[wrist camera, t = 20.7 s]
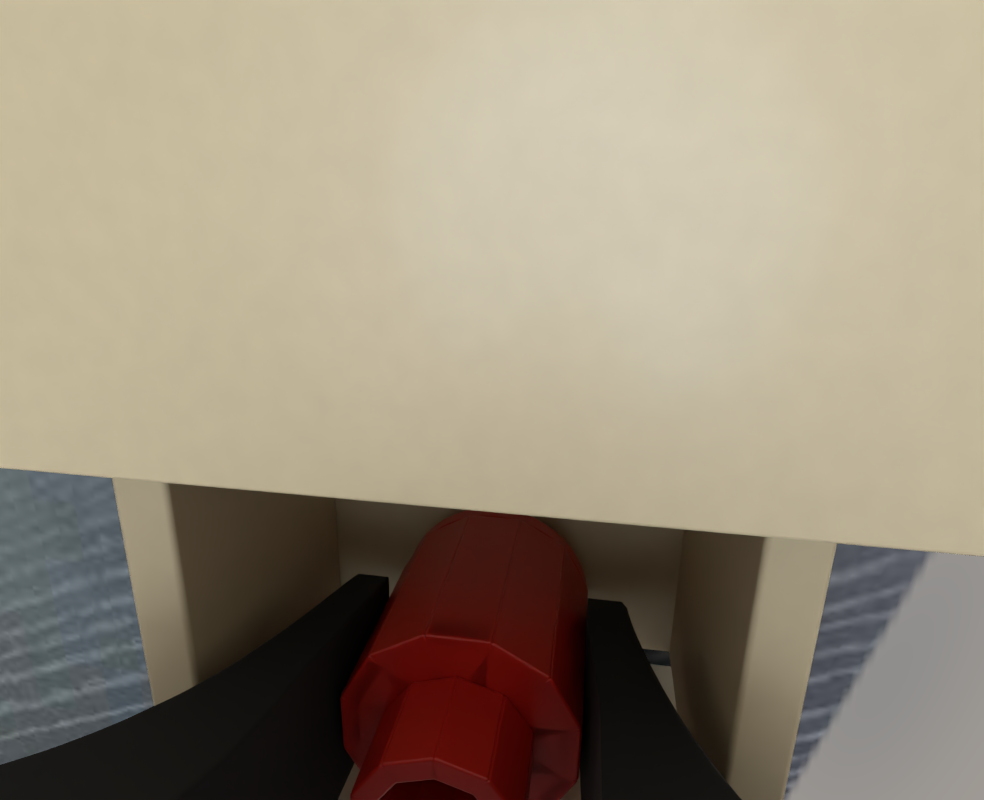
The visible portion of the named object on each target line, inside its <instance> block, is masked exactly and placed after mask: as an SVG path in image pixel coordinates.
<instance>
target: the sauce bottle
mask: <svg viewBox="0 0 984 800" xmlns="http://www.w3.org/2000/svg"><path fill="white" fill-rule="evenodd" d="M587 601H588V589H587V585H586V579H585V575H584V572H583V569H582V566H581V564H580V562H579V560H578V558H577V556H576V554H575V553H574V551H573V550H572V548H571V547H570V546H569V545H568V543H567V542H566V541H565V540H564V539H563V538H562V537H561V536H560V535H559V534H558V533H557V532H555V531H554V530H553V529H552V528H550V527H549V526H547V525H546V524H545V523H543V522H541V521H539V520H537V519H535V518H533V517H531V516H528V515H517V514H506V513H495V512H484V511H473V510H467V511H463V512H460V513H457V514H454V515H452V516H450V517H448V518H446V519H444V520H442V521H441V522H439V523H438V524H436V525H435V526H434V527H433V528H432V529H430V530H429V531H428V532H427V533H426V534H425V536H424V537H423V538H422V540H421V541H420V542H419V544H418V546H417V548H416V550H415V552H414V554H413V555H412V557H411V558H410V560H409V561H408V563H407V564H406V566H405V567H404V569H403V571H402V573H401V575H400V577H399V579H398V581H397V583H396V585H395V587H394V589H393V591H392V593H391V595H390V597H389V599H388V601H387V603H386V605H385V607H384V609H383V611H382V613H381V616H380V618H379V620H378V622H377V624H376V626H375V628H374V630H373V632H372V634H371V636H370V638H369V640H368V642H367V644H366V646H365V648H364V650H363V652H362V654H361V656H360V658H359V660H358V662H357V664H356V666H355V668H354V670H353V672H352V674H351V676H350V678H349V680H348V682H347V684H346V686H345V688H344V690H343V692H342V694H341V698H340V701H341V715H342V729H343V743H344V747H345V750H346V751H347V753H348V754H349V755H350V757H351V758H352V760H353V761H354V763H355V764H356V765H357V767H358V768H359V770H360V772H359V774H358V777H357V779H356V782H355V784H354V786H353V789H352V792H351V794H350V799H351V800H560V799H561V798H562V797H563V796H564V795H565V794H566V793H567V792H568V791H569V790H570V789H571V788H572V787H573V786H574V785H575V783H576V782H577V780H578V778H579V767H580V754H581V741H582V726H583V701H584V676H585V636H586V616H587Z"/></svg>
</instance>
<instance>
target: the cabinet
mask: <svg viewBox="0 0 984 800" xmlns="http://www.w3.org/2000/svg"><path fill="white" fill-rule="evenodd" d="M0 468H7V469H18V470H29V471H40V472H52V473H63V474H74V475H85V476H96V477H107V478H118V479H129V480H140V481H151V482H162V483H174V484H185V485H196V486H207V487H218V488H229V489H240V490H251V491H262V492H273V493H284V494H296V495H307V496H318V497H329V498H340V499H351V500H362V501H373V502H384V503H395V504H406V505H418V506H429V507H440V508H451V509H462V510H473V511H484V512H495V513H506V514H517V515H528V516H539V517H551V518H562V519H573V520H584V521H595V522H606V523H617V524H628V525H639V526H650V527H661V528H673V529H684V530H695V531H706V532H717V533H728V534H739V535H750V536H761V537H772V538H783V539H795V540H806V541H817V542H828V543H839V544H850V545H861V546H872V547H883V548H894V549H905V550H917V551H928V552H939V553H950V554H961V555H972V556H983V557H984V0H0Z"/></svg>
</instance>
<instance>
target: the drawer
mask: <svg viewBox="0 0 984 800" xmlns="http://www.w3.org/2000/svg"><path fill="white" fill-rule="evenodd" d="M112 481H113V486H114V492H115V497H116V502H117V508H118V513H119V519H120V524H121V530H122V535H123V540H124V546H125V551H126V557H127V562H128V567H129V573H130V578H131V584H132V589H133V594H134V600H135V605H136V611H137V616H138V622H139V627H140V632H141V638H142V643H143V649H144V654H145V659H146V665H147V670H148V676H149V681H150V687H151V692H152V697H153V703H154V706H155V705H157V704H160V703H162V702H164V701H166V700H168V699H170V698H172V697H174V696H176V695H178V694H180V693H182V692H184V691H186V690H188V689H190V688H192V687H194V686H195V685H197V684H199V683H201V682H203V681H204V680H206V679H208V678H210V677H212V676H213V675H215V674H217V673H219V672H220V671H222V670H224V669H225V668H227V667H229V666H230V665H232V664H233V663H235V662H237V661H238V660H240V659H241V658H243V657H244V656H246V655H247V654H249V653H250V652H252V651H253V650H255V649H256V648H258V647H259V646H261V645H262V644H264V643H265V642H267V641H268V640H270V639H271V638H273V637H274V636H276V635H277V634H279V633H280V632H281V631H283V630H284V629H286V628H287V627H288V626H290V625H291V624H292V623H294V622H295V621H296V620H298V619H299V618H300V617H302V616H303V615H304V614H306V613H307V612H308V611H310V610H311V609H313V608H314V607H315V606H316V605H318V604H319V603H320V602H322V601H323V600H324V599H326V598H327V597H328V596H329V595H331V594H332V593H333V592H335V591H336V590H337V589H338V588H340V587H341V586H342V585H344V584H345V583H346V582H348V581H349V580H350V579H352V578H353V577H354V576H356V575H357V574H366V575H376V576H385V577H389V597H390V595H391V593H392V591H393V589H394V587H395V585H396V583H397V581H398V579H399V577H400V575H401V573H402V571H403V569H404V567H405V566H406V564H407V563H408V561H409V560H410V558H411V557H412V555H413V554H414V552H415V550H416V548H417V546H418V544H419V542H420V541H421V540H422V538H423V537H424V536H425V534H426V533H427V532H428V531H429V530H430V529H432V528H433V527H434V526H435V525H436V524H438V523H439V522H441V521H442V520H444V519H446V518H448V517H450V516H452V515H454V514H457V513H460V512H463V511H467V510H462V509H451V508H440V507H429V506H418V505H406V504H395V503H384V502H373V501H362V500H351V499H340V498H329V497H318V496H307V495H296V494H284V493H273V492H262V491H251V490H240V489H229V488H218V487H207V486H196V485H185V484H174V483H162V482H151V481H140V480H129V479H118V478H112ZM531 517H533V518H535V519H537V520H539V521H541V522H543V523H545V524H546V525H547V526H549V527H550V528H552V529H553V530H554V531H555V532H557V533H558V534H559V535H560V536H561V537H562V538H563V539H564V540H565V541H566V542H567V543H568V545H569V546H570V547H571V548H572V550H573V551H574V553H575V554H576V556H577V558H578V560H579V562H580V564H581V566H582V569H583V572H584V575H585V579H586V585H587V589H588V598H592V599H601V600H610V601H620V602H622V603H623V604H624V605H625V606H626V607H627V610H628V613H629V616H630V619H631V622H632V625H633V628H634V630H635V633H636V635H637V637H638V640H639V642H640V644H641V646H642V649H649V650H658V651H667V652H669V655H670V663H671V666H663V665H654V664H650V665H651V667H652V669H653V671H654V672H655V674H656V676H657V678H658V680H659V682H660V684H661V686H662V687H663V689H664V691H665V693H666V694H667V696H668V698H669V700H670V701H671V703H672V705H673V706H674V708H675V709H676V711H677V713H678V714H679V716H680V717H681V719H682V721H683V722H684V724H685V725H686V727H687V728H688V730H689V731H690V733H691V734H692V736H693V737H694V739H695V740H696V741H697V743H698V744H699V746H700V747H701V749H702V750H703V751H704V753H705V754H706V755H707V757H708V758H709V759H710V761H711V762H712V763H713V765H714V766H715V767H716V769H717V770H718V771H719V772H720V774H721V775H722V776H723V777H724V779H725V780H726V781H727V782H728V784H729V785H730V786H731V787H732V789H733V790H734V791H735V792H736V794H737V795H738V796H739V797H740V798H741V799H742V800H783V799H784V794H785V789H786V785H787V780H788V775H789V770H790V766H791V761H792V756H793V751H794V746H795V742H796V737H797V732H798V727H799V722H800V718H801V713H802V708H803V703H804V699H805V694H806V689H807V684H808V679H809V675H810V670H811V665H812V660H813V656H814V651H815V646H816V641H817V636H818V632H819V627H820V622H821V617H822V613H823V608H824V603H825V598H826V593H827V589H828V584H829V579H830V574H831V570H832V565H833V560H834V555H835V550H836V546H837V543H828V542H817V541H806V540H795V539H783V538H772V537H761V536H750V535H739V534H728V533H717V532H706V531H695V530H684V529H673V528H661V527H650V526H639V525H628V524H617V523H606V522H595V521H584V520H573V519H562V518H551V517H539V516H531ZM587 602H588V601H587ZM359 772H360V770H359V768H358V767H357V765H356V764H355V763H354V765H353V768H352V770H351V772H350V774H349V776H348V778H347V781H346V783H345V785H344V787H343V789H342V791H341V794H340V796H339V798H338V800H351V799H350V794H351V792H352V789H353V786H354V784H355V782H356V779H357V777H358V774H359ZM560 800H581V788H580V767H579V778H578V780H577V782H576V783H575V785H574V786H573V787H572V788H571V789H570V790H569V791H568V792H567V793H566V794H565V795H564V796H563V797H562V798H561V799H560Z"/></svg>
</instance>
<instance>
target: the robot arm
mask: <svg viewBox="0 0 984 800" xmlns="http://www.w3.org/2000/svg"><path fill="white" fill-rule="evenodd" d="M388 599H389V577H385V576H376V575H366V574H357V575H356V576H354V577H353V578H352V579H350V580H349V581H348V582H346V583H345V584H344V585H342V586H341V587H340V588H338V589H337V590H336V591H335V592H333V593H332V594H331V595H329V596H328V597H327V598H326V599H324V600H323V601H322V602H320V603H319V604H318V605H316V606H315V607H314V608H313V609H311V610H310V611H308V612H307V613H306V614H304V615H303V616H302V617H300V618H299V619H298V620H296V621H295V622H294V623H292V624H291V625H290V626H288V627H287V628H286V629H284V630H283V631H281V632H280V633H279V634H277V635H276V636H274V637H273V638H271V639H270V640H268V641H267V642H265V643H264V644H262V645H261V646H259V647H258V648H256V649H255V650H253V651H252V652H250V653H249V654H247V655H246V656H244V657H243V658H241V659H240V660H238V661H237V662H235V663H233V664H232V665H230V666H229V667H227V668H225V669H224V670H222V671H220V672H219V673H217V674H215V675H213V676H212V677H210V678H208V679H206V680H204V681H203V682H201V683H199V684H197V685H195V686H194V687H192V688H190V689H188V690H186V691H184V692H182V693H180V694H178V695H176V696H174V697H172V698H170V699H168V700H166V701H164V702H162V703H160V704H157V705H155V706H153V707H151V708H149V709H147V710H145V711H143V712H141V713H138V714H136V715H134V716H132V717H130V718H128V719H126V720H123V721H121V722H119V723H116V724H114V725H111V726H109V727H107V728H104V729H102V730H99V731H97V732H94V733H92V734H89V735H87V736H84V737H81V738H79V739H76V740H73V741H71V742H68V743H66V744H63V745H60V746H57V747H54V748H52V749H49V750H46V751H43V752H40V753H37V754H34V755H31V756H27V757H24V758H21V759H18V760H15V761H12V762H8V763H5V764H2V765H0V800H338V798H339V796H340V794H341V791H342V789H343V787H344V785H345V783H346V781H347V778H348V776H349V774H350V772H351V770H352V768H353V765H354V761H353V760H352V758H351V757H350V755H349V754H348V753H347V751H346V750H345V747H344V743H343V729H342V715H341V701H340V698H341V694H342V692H343V690H344V688H345V686H346V684H347V682H348V680H349V678H350V676H351V674H352V672H353V670H354V668H355V666H356V664H357V662H358V660H359V658H360V656H361V654H362V652H363V650H364V648H365V646H366V644H367V642H368V640H369V638H370V636H371V634H372V632H373V630H374V628H375V626H376V624H377V622H378V620H379V618H380V616H381V613H382V611H383V609H384V607H385V605H386V603H387V601H388ZM580 788H581V800H742V799H741V798H740V797H739V796H738V795H737V794H736V792H735V791H734V790H733V789H732V787H731V786H730V785H729V784H728V782H727V781H726V780H725V779H724V777H723V776H722V775H721V774H720V772H719V771H718V770H717V769H716V767H715V766H714V765H713V763H712V762H711V761H710V759H709V758H708V757H707V755H706V754H705V753H704V751H703V750H702V749H701V747H700V746H699V744H698V743H697V741H696V740H695V739H694V737H693V736H692V734H691V733H690V731H689V730H688V728H687V727H686V725H685V724H684V722H683V721H682V719H681V717H680V716H679V714H678V713H677V711H676V709H675V708H674V706H673V705H672V703H671V701H670V700H669V698H668V696H667V694H666V693H665V691H664V689H663V687H662V686H661V684H660V682H659V680H658V678H657V676H656V674H655V672H654V671H653V669H652V667H651V665H650V663H649V661H648V659H647V657H646V655H645V653H644V651H643V649H642V646H641V644H640V642H639V640H638V637H637V635H636V633H635V630H634V628H633V625H632V622H631V619H630V616H629V613H628V610H627V607H626V606H625V605H624V604H623V603H622V602H620V601H610V600H601V599H592V598H588V602H587V616H586V636H585V676H584V701H583V726H582V741H581V754H580Z"/></svg>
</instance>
